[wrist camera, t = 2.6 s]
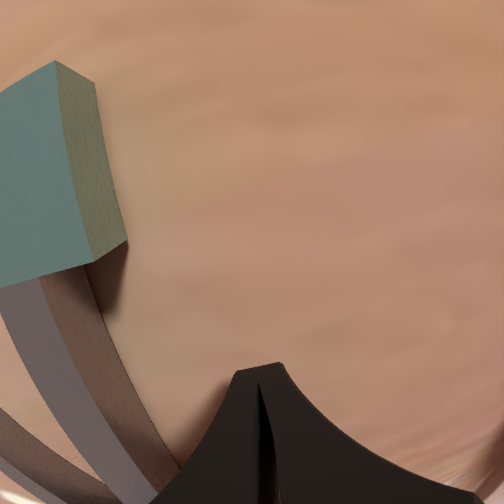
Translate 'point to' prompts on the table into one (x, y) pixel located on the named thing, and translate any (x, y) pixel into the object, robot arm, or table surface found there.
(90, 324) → the tong free arm
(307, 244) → the table surface
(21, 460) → the tong fixed arm
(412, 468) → the table surface
